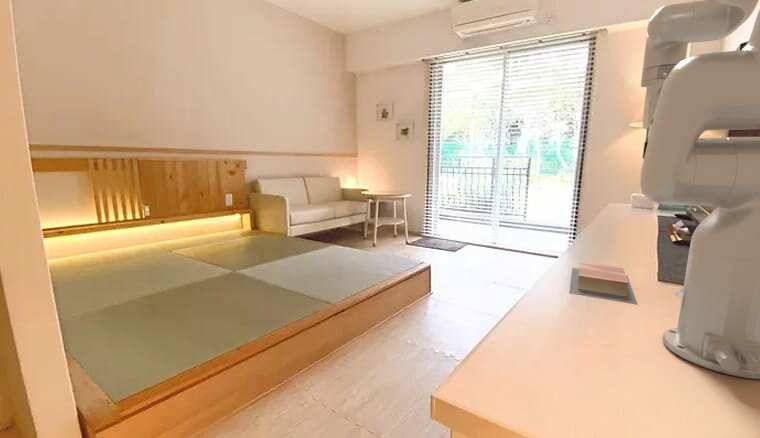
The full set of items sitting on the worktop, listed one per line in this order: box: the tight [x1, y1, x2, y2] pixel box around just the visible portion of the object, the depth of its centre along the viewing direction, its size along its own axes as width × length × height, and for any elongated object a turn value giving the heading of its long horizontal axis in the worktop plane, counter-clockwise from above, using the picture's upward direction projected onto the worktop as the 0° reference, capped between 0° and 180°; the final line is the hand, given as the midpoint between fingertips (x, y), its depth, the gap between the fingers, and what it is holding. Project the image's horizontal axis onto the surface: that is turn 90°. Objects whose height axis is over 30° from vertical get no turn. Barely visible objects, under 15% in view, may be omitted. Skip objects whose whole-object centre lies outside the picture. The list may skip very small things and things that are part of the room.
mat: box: [568, 267, 639, 305], centre depth 81 cm, size 21×12×1 cm, turn 150°
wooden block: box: [578, 262, 628, 297], centre depth 80 cm, size 3×9×12 cm
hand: (651, 158), depth 83 cm, fingers closed
